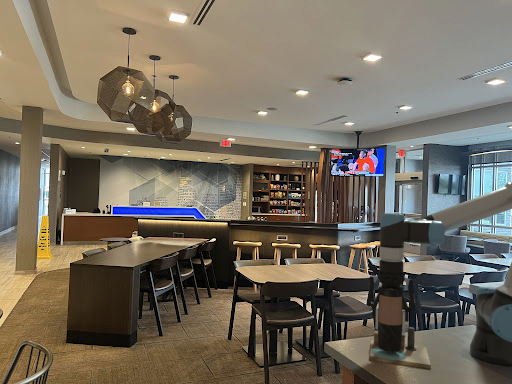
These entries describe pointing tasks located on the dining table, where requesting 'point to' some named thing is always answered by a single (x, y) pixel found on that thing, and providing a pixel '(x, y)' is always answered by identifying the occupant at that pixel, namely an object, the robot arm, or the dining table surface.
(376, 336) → the leg bar
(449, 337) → the dining table surface
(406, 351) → the oak board
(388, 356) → the felt pad
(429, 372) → the dining table surface
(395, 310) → the travel mug
